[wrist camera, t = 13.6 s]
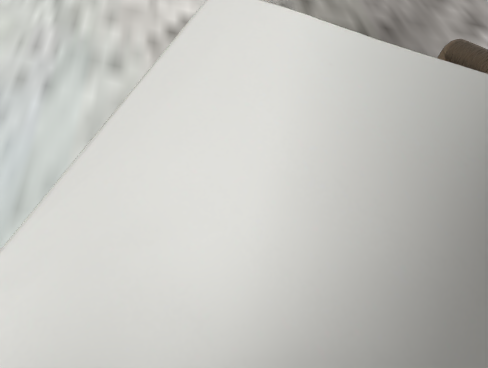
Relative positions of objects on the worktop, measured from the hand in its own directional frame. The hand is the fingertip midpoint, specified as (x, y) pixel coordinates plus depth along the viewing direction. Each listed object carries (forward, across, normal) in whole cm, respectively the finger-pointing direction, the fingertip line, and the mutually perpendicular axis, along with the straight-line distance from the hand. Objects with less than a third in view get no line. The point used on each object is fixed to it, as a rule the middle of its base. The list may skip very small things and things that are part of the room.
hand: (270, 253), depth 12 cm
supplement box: (+5, 0, -7) cm, 8 cm away
